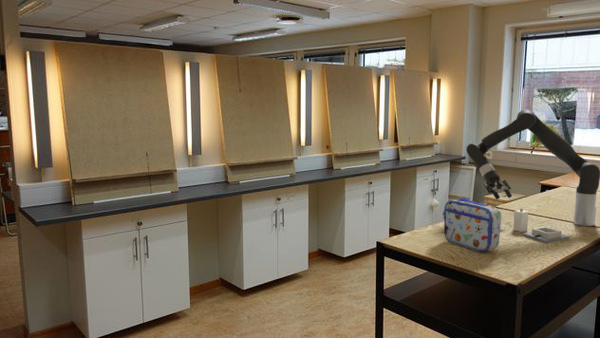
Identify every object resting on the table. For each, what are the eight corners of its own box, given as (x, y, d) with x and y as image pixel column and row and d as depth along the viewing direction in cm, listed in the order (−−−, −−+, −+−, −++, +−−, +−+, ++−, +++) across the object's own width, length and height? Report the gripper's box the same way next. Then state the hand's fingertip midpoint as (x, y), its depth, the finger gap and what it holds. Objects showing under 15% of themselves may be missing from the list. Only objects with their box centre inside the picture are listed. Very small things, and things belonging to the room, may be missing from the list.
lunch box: (437, 240, 222) (439, 195, 218) (452, 236, 227) (454, 193, 224) (487, 256, 199) (490, 206, 195) (502, 252, 204) (505, 203, 201)
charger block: (519, 228, 241) (521, 207, 239) (527, 230, 237) (528, 209, 235) (513, 229, 239) (514, 208, 237) (520, 231, 235) (522, 210, 233)
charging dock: (546, 231, 234) (546, 224, 233) (569, 238, 222) (570, 231, 222) (523, 235, 228) (523, 228, 227) (546, 243, 216) (546, 235, 215)
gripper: (483, 170, 249) (498, 195, 240) (502, 168, 254) (518, 192, 246) (475, 178, 254) (490, 202, 246) (494, 176, 260) (510, 200, 251)
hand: (504, 197), depth 246 cm, fingers open, 8 cm apart
